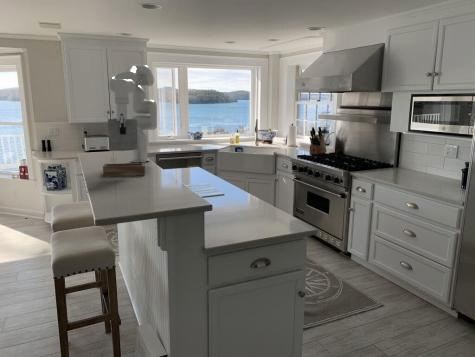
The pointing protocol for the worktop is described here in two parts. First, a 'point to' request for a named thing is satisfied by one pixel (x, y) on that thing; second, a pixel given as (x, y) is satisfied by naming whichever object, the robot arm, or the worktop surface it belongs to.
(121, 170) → the u rest
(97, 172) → the worktop surface
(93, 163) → the worktop surface
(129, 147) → the hip flask
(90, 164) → the worktop surface
